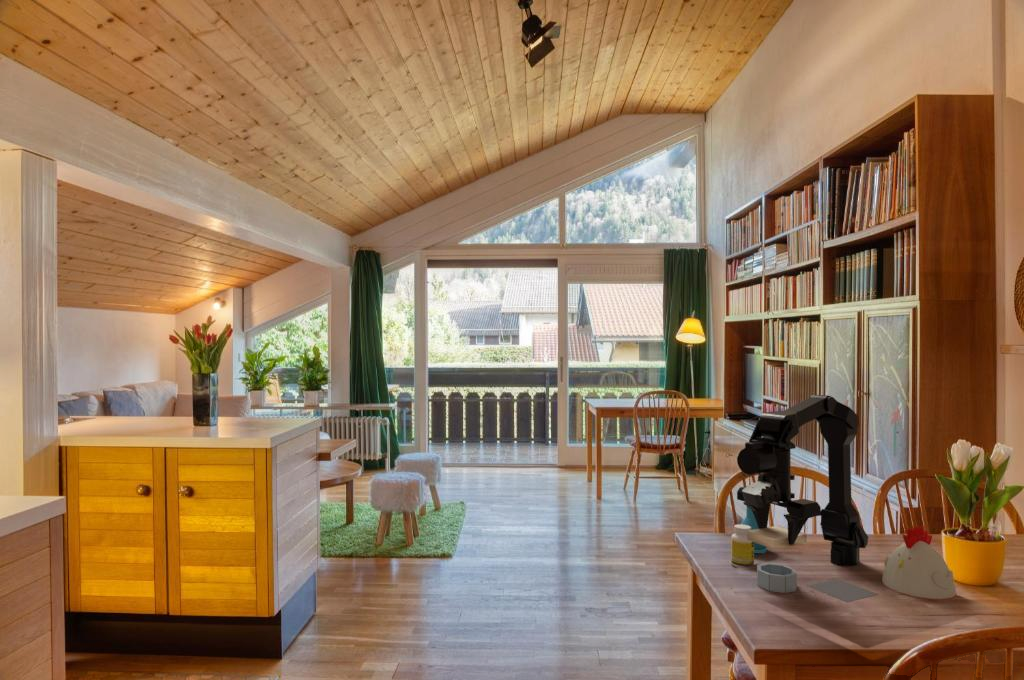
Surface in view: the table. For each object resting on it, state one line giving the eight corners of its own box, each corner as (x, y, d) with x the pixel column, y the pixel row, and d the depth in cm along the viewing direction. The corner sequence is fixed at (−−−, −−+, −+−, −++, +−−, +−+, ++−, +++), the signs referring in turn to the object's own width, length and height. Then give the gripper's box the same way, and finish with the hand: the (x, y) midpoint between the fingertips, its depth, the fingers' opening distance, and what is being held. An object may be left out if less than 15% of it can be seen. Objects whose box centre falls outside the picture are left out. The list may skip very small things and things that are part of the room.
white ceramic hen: (868, 587, 145) (867, 521, 145) (910, 579, 150) (910, 515, 150) (926, 611, 132) (926, 538, 132) (971, 601, 137) (971, 532, 137)
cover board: (779, 534, 147) (779, 525, 147) (806, 543, 140) (806, 534, 140) (747, 539, 143) (747, 530, 143) (773, 549, 136) (773, 540, 136)
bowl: (775, 583, 147) (775, 561, 147) (804, 595, 140) (803, 572, 140) (749, 588, 143) (749, 566, 144) (777, 601, 136) (777, 578, 136)
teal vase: (768, 557, 165) (768, 499, 165) (731, 551, 169) (731, 495, 170) (774, 548, 172) (774, 492, 172) (739, 542, 177) (739, 488, 177)
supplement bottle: (755, 570, 155) (755, 530, 155) (732, 568, 156) (732, 528, 157) (752, 562, 161) (752, 524, 161) (729, 561, 162) (729, 522, 162)
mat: (837, 585, 146) (837, 578, 146) (878, 601, 137) (878, 594, 137) (806, 592, 141) (806, 585, 141) (847, 609, 132) (847, 602, 132)
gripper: (719, 465, 147) (719, 532, 147) (784, 481, 130) (784, 557, 130) (754, 461, 151) (754, 526, 151) (822, 476, 135) (822, 549, 134)
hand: (776, 539), depth 142 cm, fingers closed on cover board, 7 cm apart
